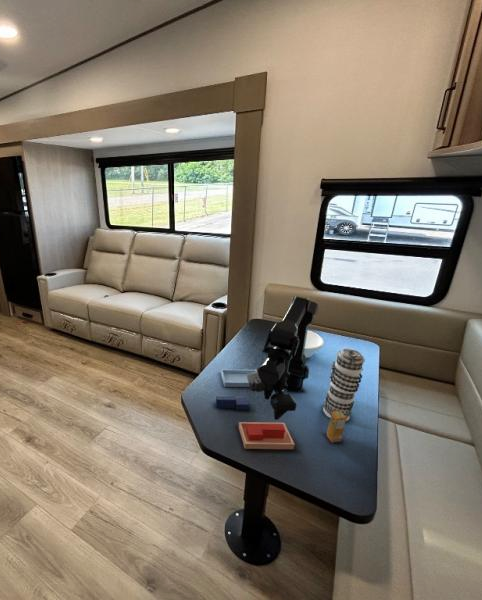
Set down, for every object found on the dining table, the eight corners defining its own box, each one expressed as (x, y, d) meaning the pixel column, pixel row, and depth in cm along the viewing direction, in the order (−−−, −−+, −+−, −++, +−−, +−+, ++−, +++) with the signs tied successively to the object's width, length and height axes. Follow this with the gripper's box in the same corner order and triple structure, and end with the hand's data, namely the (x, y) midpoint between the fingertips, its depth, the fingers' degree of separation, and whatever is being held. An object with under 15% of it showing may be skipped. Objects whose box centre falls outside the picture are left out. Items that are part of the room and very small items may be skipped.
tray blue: (255, 373, 135) (256, 369, 135) (262, 387, 127) (262, 382, 126) (220, 373, 136) (220, 369, 135) (224, 386, 127) (224, 382, 126)
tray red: (283, 427, 106) (284, 422, 106) (293, 449, 98) (294, 444, 97) (238, 426, 107) (239, 422, 106) (244, 448, 98) (245, 443, 97)
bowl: (323, 348, 155) (326, 333, 152) (317, 369, 139) (320, 353, 136) (279, 337, 166) (281, 323, 163) (268, 355, 149) (270, 340, 146)
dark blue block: (216, 409, 115) (217, 401, 113) (215, 402, 118) (215, 394, 117) (247, 409, 115) (249, 401, 113) (245, 402, 118) (246, 394, 117)
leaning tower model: (321, 401, 119) (335, 343, 110) (349, 408, 115) (366, 349, 106) (321, 417, 111) (336, 355, 102) (351, 425, 107) (369, 362, 98)
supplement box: (325, 435, 103) (331, 410, 100) (335, 434, 104) (341, 410, 100) (331, 443, 100) (337, 418, 97) (341, 442, 101) (348, 417, 97)
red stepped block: (280, 432, 104) (282, 423, 102) (284, 441, 100) (286, 432, 99) (246, 431, 104) (247, 423, 103) (248, 440, 100) (250, 431, 99)
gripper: (243, 350, 103) (239, 390, 108) (260, 386, 85) (253, 431, 91) (277, 350, 103) (271, 390, 108) (301, 386, 85) (292, 431, 91)
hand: (271, 408), depth 100 cm, fingers open, 9 cm apart
